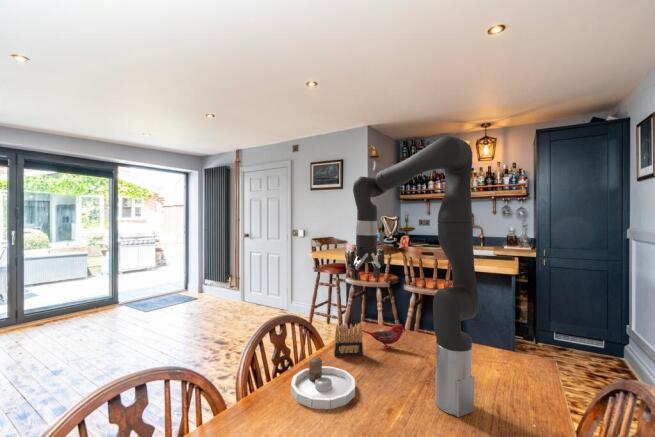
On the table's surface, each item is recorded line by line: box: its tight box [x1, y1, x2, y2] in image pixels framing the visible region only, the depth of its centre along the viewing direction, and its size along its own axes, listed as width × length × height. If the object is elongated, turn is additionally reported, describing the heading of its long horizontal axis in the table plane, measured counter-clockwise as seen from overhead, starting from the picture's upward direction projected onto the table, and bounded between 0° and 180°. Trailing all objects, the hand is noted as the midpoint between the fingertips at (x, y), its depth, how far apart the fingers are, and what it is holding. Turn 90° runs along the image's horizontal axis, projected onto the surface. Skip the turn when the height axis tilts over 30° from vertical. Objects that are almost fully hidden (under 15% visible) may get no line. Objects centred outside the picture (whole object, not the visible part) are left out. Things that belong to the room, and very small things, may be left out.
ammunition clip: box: [333, 323, 364, 358], centre depth 121 cm, size 11×2×12 cm, turn 96°
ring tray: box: [290, 365, 356, 410], centre depth 97 cm, size 19×19×2 cm
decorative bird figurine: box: [362, 323, 407, 349], centre depth 128 cm, size 3×18×10 cm, turn 78°
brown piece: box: [308, 357, 323, 382], centre depth 102 cm, size 4×4×6 cm
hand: (366, 279), depth 114 cm, fingers open, 8 cm apart
